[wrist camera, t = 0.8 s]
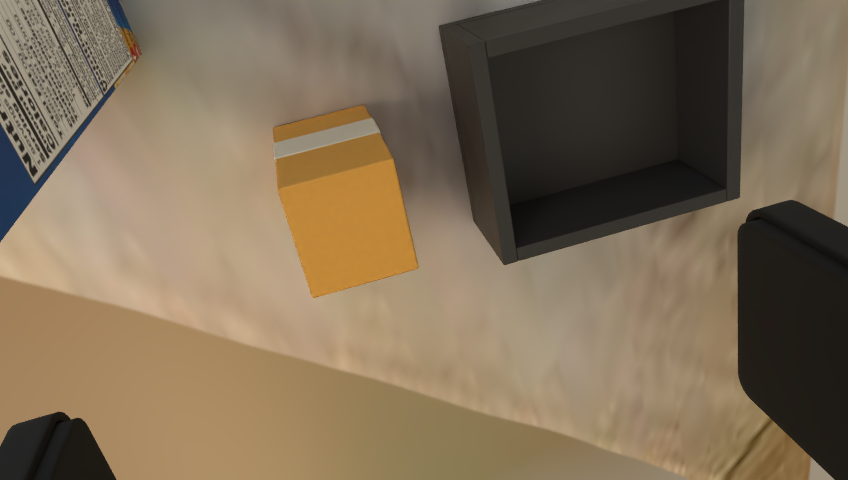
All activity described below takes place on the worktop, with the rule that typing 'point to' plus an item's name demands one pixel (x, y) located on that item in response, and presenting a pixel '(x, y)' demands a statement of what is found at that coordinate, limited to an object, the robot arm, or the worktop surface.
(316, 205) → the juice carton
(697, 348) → the worktop surface
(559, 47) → the basket
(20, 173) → the blue yellow food box
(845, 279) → the robot arm
